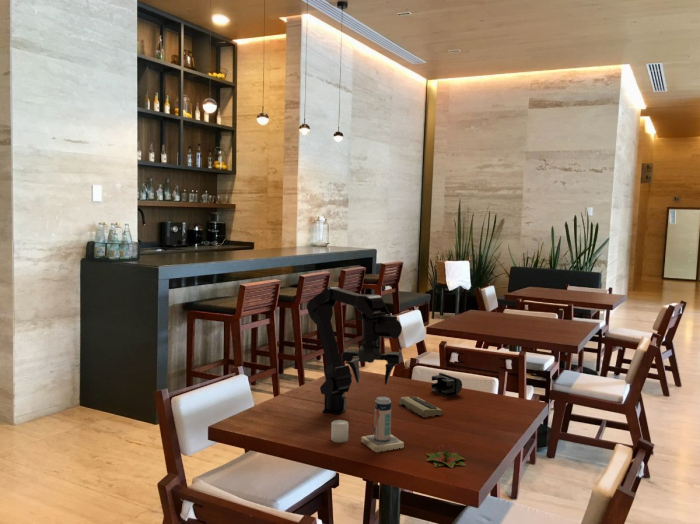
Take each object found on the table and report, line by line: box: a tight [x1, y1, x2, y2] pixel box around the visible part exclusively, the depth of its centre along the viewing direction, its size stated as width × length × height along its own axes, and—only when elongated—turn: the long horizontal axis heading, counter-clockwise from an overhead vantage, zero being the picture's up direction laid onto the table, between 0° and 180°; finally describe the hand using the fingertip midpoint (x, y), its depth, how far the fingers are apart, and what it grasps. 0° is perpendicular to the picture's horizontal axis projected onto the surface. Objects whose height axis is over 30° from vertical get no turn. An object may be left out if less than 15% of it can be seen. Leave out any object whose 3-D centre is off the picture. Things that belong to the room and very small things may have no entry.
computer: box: [399, 396, 444, 418], centre depth 209 cm, size 16×8×3 cm, turn 25°
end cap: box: [430, 372, 463, 398], centre depth 230 cm, size 10×7×7 cm
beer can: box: [373, 395, 392, 441], centre depth 175 cm, size 5×5×12 cm
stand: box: [360, 434, 405, 453], centre depth 176 cm, size 9×9×2 cm
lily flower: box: [425, 444, 468, 470], centre depth 165 cm, size 12×12×5 cm
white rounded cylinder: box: [330, 419, 349, 443], centre depth 179 cm, size 5×5×5 cm
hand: (371, 383), depth 193 cm, fingers open, 9 cm apart
